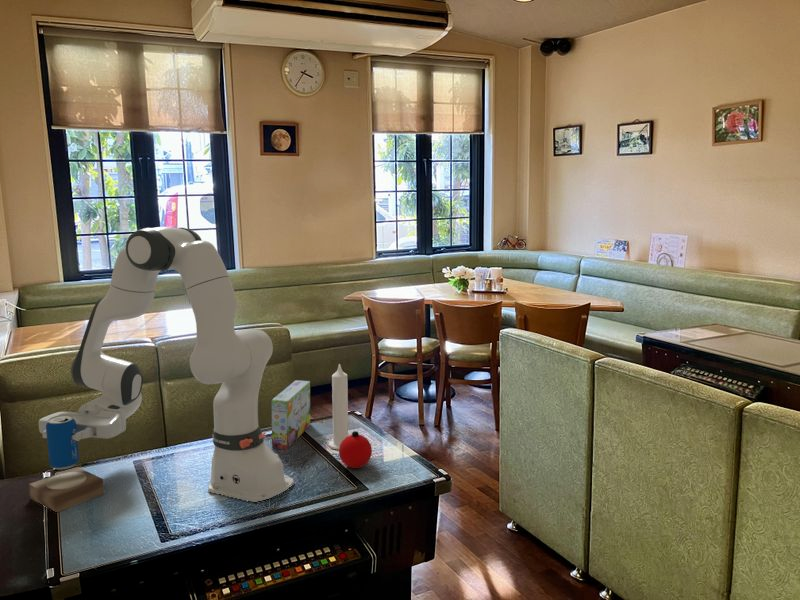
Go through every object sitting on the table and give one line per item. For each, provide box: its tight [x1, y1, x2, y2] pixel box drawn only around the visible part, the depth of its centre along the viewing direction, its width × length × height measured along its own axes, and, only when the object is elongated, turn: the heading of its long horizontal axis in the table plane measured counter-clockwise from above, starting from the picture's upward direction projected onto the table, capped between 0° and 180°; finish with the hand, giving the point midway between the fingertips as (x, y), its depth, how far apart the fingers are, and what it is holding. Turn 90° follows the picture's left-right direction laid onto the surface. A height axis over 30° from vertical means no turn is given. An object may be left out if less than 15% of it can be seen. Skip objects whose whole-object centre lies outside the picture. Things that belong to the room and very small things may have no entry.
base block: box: [28, 466, 105, 513], centre depth 158 cm, size 12×12×4 cm
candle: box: [328, 363, 349, 451], centre depth 188 cm, size 7×7×25 cm
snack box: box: [271, 379, 311, 450], centre depth 196 cm, size 21×6×15 cm, turn 170°
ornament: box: [338, 430, 373, 469], centre depth 175 cm, size 9×9×10 cm
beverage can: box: [46, 415, 80, 471], centre depth 156 cm, size 6×6×12 cm
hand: (59, 436), depth 155 cm, fingers closed on beverage can, 6 cm apart
